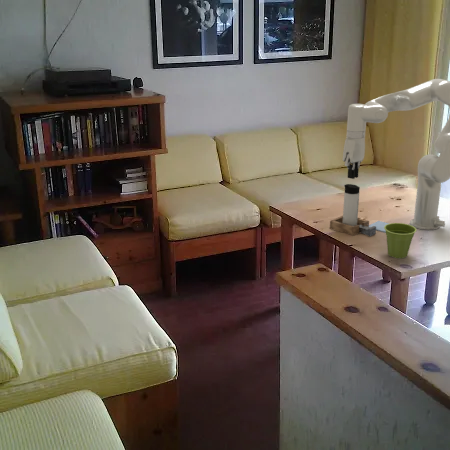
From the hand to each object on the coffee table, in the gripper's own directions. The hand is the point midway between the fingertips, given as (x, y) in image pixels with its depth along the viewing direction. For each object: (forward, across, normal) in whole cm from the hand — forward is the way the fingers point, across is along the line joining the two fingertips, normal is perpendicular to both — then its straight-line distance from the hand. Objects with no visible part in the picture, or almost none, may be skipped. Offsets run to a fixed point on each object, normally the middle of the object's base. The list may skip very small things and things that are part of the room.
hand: (352, 177), depth 236 cm
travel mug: (+23, 0, 0) cm, 23 cm away
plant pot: (+23, +12, +30) cm, 40 cm away
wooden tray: (+23, 0, 0) cm, 23 cm away
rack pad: (+23, -11, +10) cm, 28 cm away
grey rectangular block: (+23, 0, +7) cm, 24 cm away
